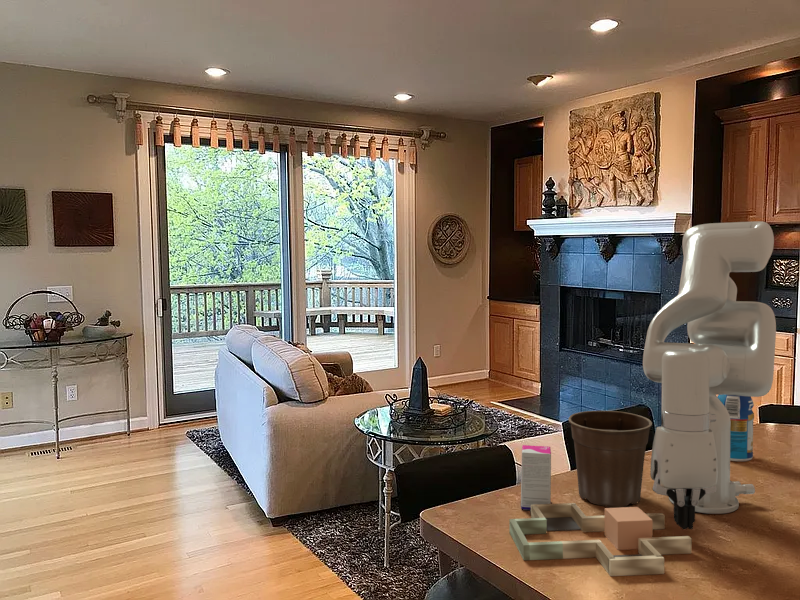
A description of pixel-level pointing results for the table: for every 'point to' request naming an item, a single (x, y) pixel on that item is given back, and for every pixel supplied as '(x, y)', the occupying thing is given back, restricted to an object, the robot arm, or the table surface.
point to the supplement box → (535, 476)
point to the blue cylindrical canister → (740, 426)
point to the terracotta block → (626, 526)
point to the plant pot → (610, 455)
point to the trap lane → (575, 519)
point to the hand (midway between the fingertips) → (684, 526)
